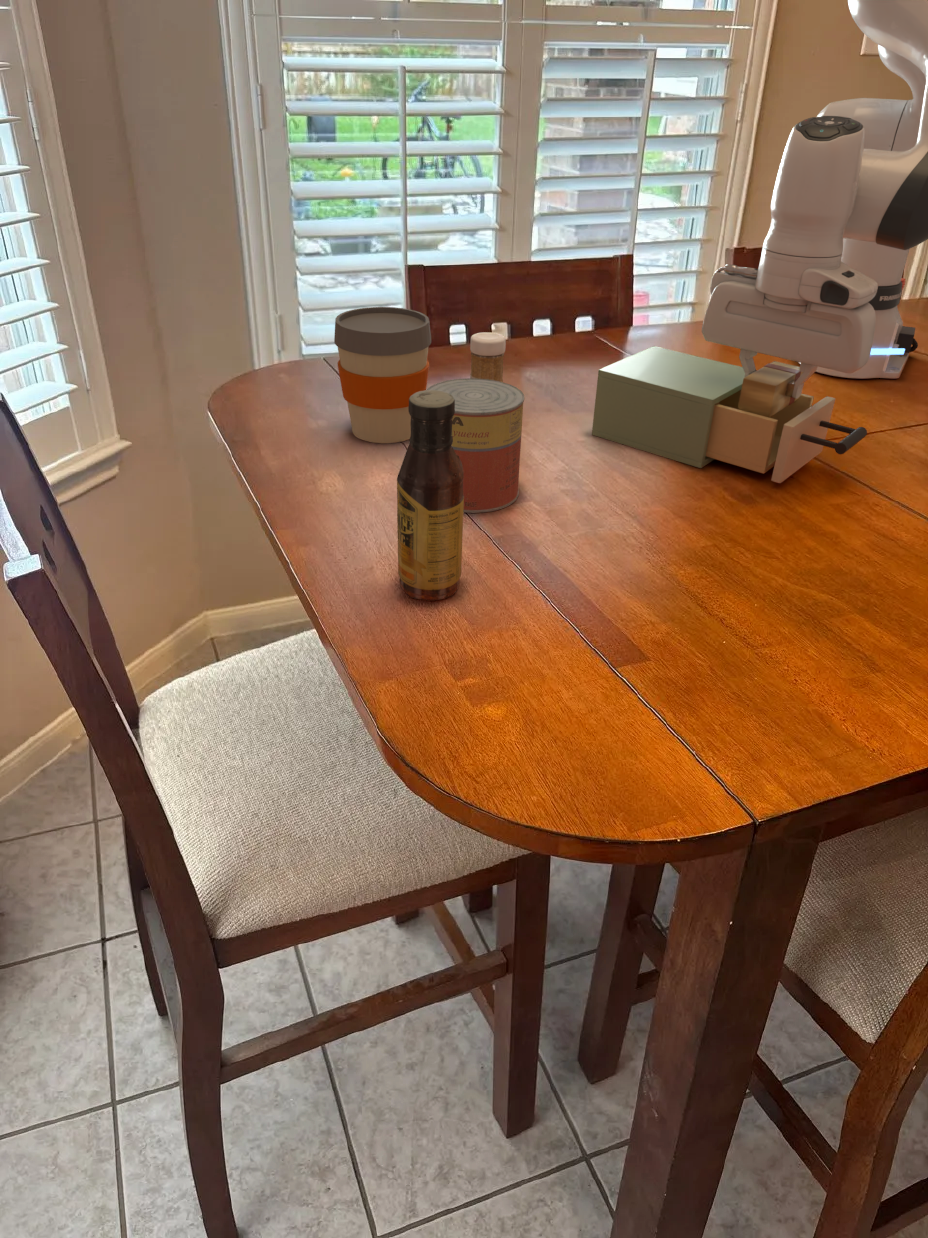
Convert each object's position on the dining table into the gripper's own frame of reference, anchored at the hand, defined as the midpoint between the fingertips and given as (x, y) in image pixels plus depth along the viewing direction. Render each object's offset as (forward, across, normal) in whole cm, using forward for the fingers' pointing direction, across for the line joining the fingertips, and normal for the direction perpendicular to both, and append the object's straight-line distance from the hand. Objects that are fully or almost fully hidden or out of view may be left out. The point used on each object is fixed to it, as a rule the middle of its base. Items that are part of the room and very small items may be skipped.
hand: (771, 390), depth 115 cm
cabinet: (+9, -13, 0) cm, 16 cm away
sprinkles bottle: (+10, -32, -18) cm, 37 cm away
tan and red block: (+2, 0, 0) cm, 2 cm away
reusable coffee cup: (+10, -43, -26) cm, 51 cm away
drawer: (+8, +1, 0) cm, 9 cm away
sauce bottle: (+10, -11, -52) cm, 54 cm away
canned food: (+10, -22, -32) cm, 40 cm away
